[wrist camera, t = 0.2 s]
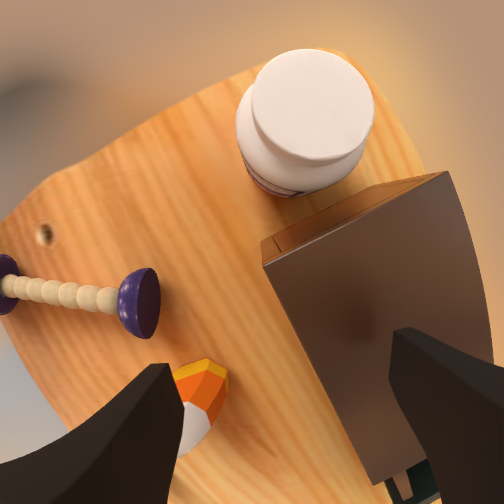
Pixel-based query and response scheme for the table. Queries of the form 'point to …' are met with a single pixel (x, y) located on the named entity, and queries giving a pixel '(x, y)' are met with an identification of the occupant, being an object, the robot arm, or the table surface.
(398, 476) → the drawer
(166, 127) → the table surface
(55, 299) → the purple dumbbell
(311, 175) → the pill bottle
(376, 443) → the cabinet
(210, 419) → the candy corn
